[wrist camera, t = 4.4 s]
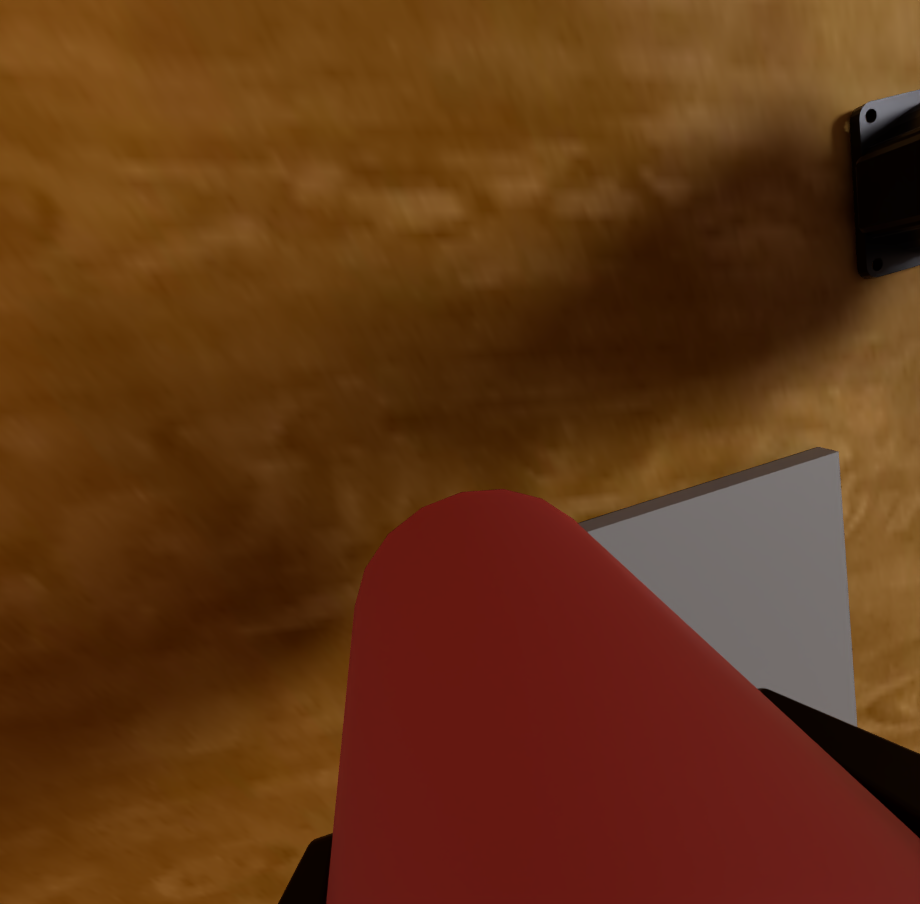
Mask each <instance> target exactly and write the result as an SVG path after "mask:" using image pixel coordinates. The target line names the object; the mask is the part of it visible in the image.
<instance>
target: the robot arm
mask: <svg viewBox="0 0 920 904" xmlns="http://www.w3.org/2000/svg"><path fill="white" fill-rule="evenodd" d="M865 115H866V117H867V121H866V119H865ZM850 134H851V153H852V172H853V191H854V210H855V228H856V247H857V266H858V273H859V274H860V276H861V277H863V278H874V277H879V276H883V275H887V274H890V273H894V272H897V271H901V270H904V269H908V268H911V267H915V266H918V265H920V90H916V91H912V92H908V93H903V94H899V95H895V96H891V97H887V98H883V99H879V100H874V101H870V102H868V103H866V104H864V105H862V106H860V107H858V108H856V109H855V110H854V112H853V113H852V115H851V118H850ZM872 263H873V264H874V265H873V268H872ZM758 690H759V691H760V692H761V693H762V694H764V695H765V696H766V697H767V698H768V699H769V700H770V701H771V702H772V703H773V704H774V705H775V706H777V707H778V708H779V709H780V710H781V711H782V712H783V713H784V714H785V715H786V716H787V717H789V718H790V719H791V720H792V721H793V722H794V723H795V724H796V725H797V726H798V727H799V728H800V729H802V730H803V731H804V732H805V733H806V734H807V735H808V736H809V737H810V738H811V739H812V740H813V741H815V742H816V743H817V744H818V745H819V746H820V747H821V748H822V749H823V750H824V751H825V752H826V753H828V754H829V755H830V756H831V757H832V758H833V759H834V760H835V761H836V762H837V763H838V764H840V765H841V766H842V767H843V768H844V769H845V770H846V771H847V772H848V773H849V774H850V775H851V776H853V777H854V778H855V779H856V780H857V781H858V782H859V783H860V784H861V785H862V786H863V787H864V788H866V789H867V790H868V791H869V792H870V793H871V794H872V795H873V796H874V797H875V798H876V799H878V800H879V801H880V802H881V803H882V804H883V805H884V806H885V807H886V808H887V809H888V810H889V811H891V812H892V813H893V814H894V815H895V816H896V817H897V818H898V819H899V820H900V821H901V822H902V823H904V824H905V825H906V826H907V827H908V828H909V829H910V830H911V831H912V832H913V833H914V834H916V835H917V836H918V837H919V838H920V754H919V753H917V752H914V751H912V750H910V749H907V748H905V747H903V746H900V745H898V744H896V743H893V742H891V741H889V740H886V739H884V738H882V737H879V736H877V735H875V734H872V733H870V732H868V731H865V730H863V729H861V728H858V727H856V726H854V725H851V724H849V723H847V722H844V721H842V720H840V719H837V718H835V717H833V716H830V715H828V714H826V713H823V712H821V711H819V710H816V709H814V708H812V707H809V706H807V705H805V704H802V703H800V702H798V701H795V700H793V699H791V698H788V697H786V696H784V695H781V694H779V693H777V692H774V691H772V690H770V689H766V688H758ZM332 838H333V833H331V834H328V835H326V836H323V837H320V838H317V839H314V840H313V841H312V842H311V843H310V844H309V845H308V847H307V849H306V851H305V853H304V855H303V857H302V859H301V860H300V862H299V864H298V866H297V868H296V870H295V872H294V874H293V876H292V878H291V880H290V882H289V884H288V885H287V887H286V889H285V891H284V893H283V895H282V897H281V899H280V901H279V903H278V904H326V901H327V890H328V880H329V869H330V859H331V848H332Z"/></svg>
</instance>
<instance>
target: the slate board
mask: <svg viewBox="0 0 920 904" xmlns="http://www.w3.org/2000/svg"><path fill="white" fill-rule="evenodd" d="M578 524H579V525H580V526H581V527H582V528H583V529H584V530H586V531H587V532H588V533H589V534H590V535H591V536H592V537H593V538H594V539H595V540H596V541H597V542H599V543H600V544H601V545H602V546H603V547H604V548H605V549H606V550H607V551H608V552H609V553H610V554H612V555H613V556H614V557H615V558H616V559H617V560H618V561H619V562H620V563H621V564H622V565H624V566H625V567H626V568H627V569H628V570H629V571H630V572H631V573H632V574H633V575H634V576H635V577H637V578H638V579H639V580H640V581H641V582H642V583H643V584H644V585H645V586H646V587H647V588H648V589H650V590H651V591H652V592H653V593H654V594H655V595H656V596H657V597H658V598H659V599H660V600H662V601H663V602H664V603H665V604H666V605H667V606H668V607H669V608H670V609H671V610H672V611H673V612H675V613H676V614H677V615H678V616H679V617H680V618H681V619H682V620H683V621H684V622H685V623H686V624H688V625H689V626H690V627H691V628H692V629H693V630H694V631H695V632H696V633H697V634H698V635H699V636H701V637H702V638H703V639H704V640H705V641H706V642H707V643H708V644H709V645H710V646H711V647H713V648H714V649H715V650H716V651H717V652H718V653H719V654H720V655H721V656H722V657H723V658H724V659H726V660H727V661H728V662H729V663H730V664H731V665H732V666H733V667H734V668H735V669H736V670H737V671H739V672H740V673H741V674H742V675H743V676H744V677H745V678H746V679H747V680H748V681H749V682H751V683H752V684H753V685H754V686H755V687H756V688H757V689H758V688H766V689H770V690H772V691H774V692H777V693H779V694H781V695H784V696H786V697H788V698H791V699H793V700H795V701H798V702H800V703H802V704H805V705H807V706H809V707H812V708H814V709H816V710H819V711H821V712H823V713H826V714H828V715H830V716H833V717H835V718H837V719H840V720H842V721H844V722H847V723H849V724H851V725H854V726H856V727H857V717H856V702H855V687H854V673H853V658H852V643H851V628H850V614H849V599H848V584H847V570H846V555H845V540H844V526H843V511H842V496H841V481H840V467H839V452H838V451H834V450H829V449H825V448H821V447H817V448H814V449H811V450H807V451H804V452H801V453H798V454H795V455H792V456H789V457H785V458H782V459H779V460H776V461H773V462H770V463H767V464H763V465H760V466H757V467H754V468H751V469H748V470H745V471H741V472H738V473H735V474H732V475H729V476H726V477H723V478H719V479H716V480H713V481H710V482H707V483H704V484H700V485H697V486H694V487H691V488H688V489H685V490H682V491H678V492H675V493H672V494H669V495H666V496H663V497H660V498H656V499H653V500H650V501H647V502H644V503H641V504H638V505H634V506H631V507H628V508H625V509H622V510H619V511H615V512H612V513H609V514H606V515H603V516H600V517H597V518H593V519H590V520H587V521H584V522H581V523H578Z"/></svg>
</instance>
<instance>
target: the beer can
mask: <svg viewBox="0 0 920 904" xmlns="http://www.w3.org/2000/svg"><path fill="white" fill-rule="evenodd" d="M326 904H920V838H919V837H918V836H917V835H916V834H914V833H913V832H912V831H911V830H910V829H909V828H908V827H907V826H906V825H905V824H904V823H902V822H901V821H900V820H899V819H898V818H897V817H896V816H895V815H894V814H893V813H892V812H891V811H889V810H888V809H887V808H886V807H885V806H884V805H883V804H882V803H881V802H880V801H879V800H878V799H876V798H875V797H874V796H873V795H872V794H871V793H870V792H869V791H868V790H867V789H866V788H864V787H863V786H862V785H861V784H860V783H859V782H858V781H857V780H856V779H855V778H854V777H853V776H851V775H850V774H849V773H848V772H847V771H846V770H845V769H844V768H843V767H842V766H841V765H840V764H838V763H837V762H836V761H835V760H834V759H833V758H832V757H831V756H830V755H829V754H828V753H826V752H825V751H824V750H823V749H822V748H821V747H820V746H819V745H818V744H817V743H816V742H815V741H813V740H812V739H811V738H810V737H809V736H808V735H807V734H806V733H805V732H804V731H803V730H802V729H800V728H799V727H798V726H797V725H796V724H795V723H794V722H793V721H792V720H791V719H790V718H789V717H787V716H786V715H785V714H784V713H783V712H782V711H781V710H780V709H779V708H778V707H777V706H775V705H774V704H773V703H772V702H771V701H770V700H769V699H768V698H767V697H766V696H765V695H764V694H762V693H761V692H760V691H759V690H758V689H757V688H756V687H755V686H754V685H753V684H752V683H751V682H749V681H748V680H747V679H746V678H745V677H744V676H743V675H742V674H741V673H740V672H739V671H737V670H736V669H735V668H734V667H733V666H732V665H731V664H730V663H729V662H728V661H727V660H726V659H724V658H723V657H722V656H721V655H720V654H719V653H718V652H717V651H716V650H715V649H714V648H713V647H711V646H710V645H709V644H708V643H707V642H706V641H705V640H704V639H703V638H702V637H701V636H699V635H698V634H697V633H696V632H695V631H694V630H693V629H692V628H691V627H690V626H689V625H688V624H686V623H685V622H684V621H683V620H682V619H681V618H680V617H679V616H678V615H677V614H676V613H675V612H673V611H672V610H671V609H670V608H669V607H668V606H667V605H666V604H665V603H664V602H663V601H662V600H660V599H659V598H658V597H657V596H656V595H655V594H654V593H653V592H652V591H651V590H650V589H648V588H647V587H646V586H645V585H644V584H643V583H642V582H641V581H640V580H639V579H638V578H637V577H635V576H634V575H633V574H632V573H631V572H630V571H629V570H628V569H627V568H626V567H625V566H624V565H622V564H621V563H620V562H619V561H618V560H617V559H616V558H615V557H614V556H613V555H612V554H610V553H609V552H608V551H607V550H606V549H605V548H604V547H603V546H602V545H601V544H600V543H599V542H597V541H596V540H595V539H594V538H593V537H592V536H591V535H590V534H589V533H588V532H587V531H586V530H584V529H583V528H582V527H581V526H580V525H579V524H578V523H577V522H576V521H575V520H574V519H572V518H571V517H569V516H568V515H566V514H565V513H563V512H561V511H560V510H558V509H557V508H555V507H554V506H552V505H551V504H549V503H548V502H546V501H545V500H543V499H541V498H537V497H533V496H529V495H525V494H521V493H517V492H513V491H509V490H505V489H498V490H484V491H470V492H461V493H458V494H456V495H453V496H450V497H448V498H445V499H443V500H440V501H438V502H435V503H433V504H430V505H427V506H425V507H422V508H421V509H420V510H418V511H417V512H416V513H414V514H413V515H412V516H411V517H409V518H408V519H407V520H406V521H404V522H403V523H402V524H401V525H399V526H398V527H397V528H396V529H394V530H393V531H392V532H390V533H389V534H388V535H387V537H386V538H385V540H384V541H383V543H382V544H381V546H380V547H379V549H378V550H377V552H376V553H375V555H374V556H373V558H372V559H371V561H370V562H369V563H368V565H367V566H366V568H365V571H364V574H363V578H362V582H361V585H360V589H359V593H358V596H357V600H356V603H355V608H354V619H353V629H352V640H351V650H350V660H349V671H348V681H347V692H346V702H345V713H344V723H343V734H342V744H341V754H340V765H339V775H338V786H337V796H336V807H335V817H334V828H333V838H332V848H331V859H330V869H329V880H328V890H327V901H326Z"/></svg>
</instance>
